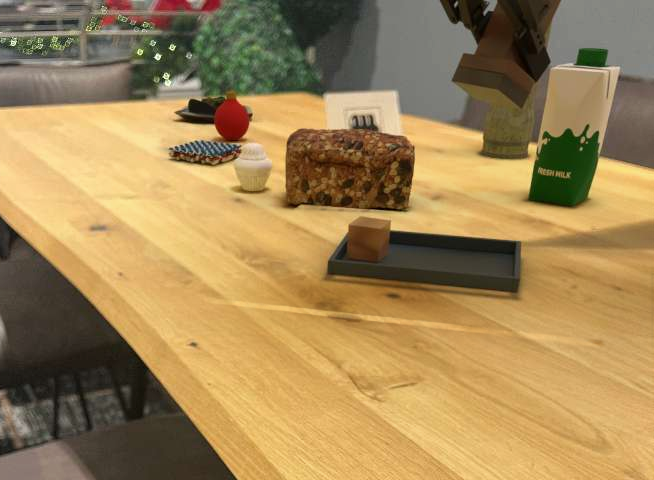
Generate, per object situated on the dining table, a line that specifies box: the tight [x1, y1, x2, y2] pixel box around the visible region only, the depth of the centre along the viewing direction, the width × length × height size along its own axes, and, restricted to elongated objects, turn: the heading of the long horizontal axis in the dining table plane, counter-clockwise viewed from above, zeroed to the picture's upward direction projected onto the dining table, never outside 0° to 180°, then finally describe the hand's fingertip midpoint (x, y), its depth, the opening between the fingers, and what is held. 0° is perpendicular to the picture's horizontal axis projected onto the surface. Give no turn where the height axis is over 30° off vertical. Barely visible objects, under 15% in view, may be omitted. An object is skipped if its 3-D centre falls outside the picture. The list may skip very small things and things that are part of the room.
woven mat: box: [168, 139, 243, 166], centre depth 140 cm, size 10×11×2 cm
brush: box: [451, 0, 562, 109], centre depth 82 cm, size 7×5×13 cm
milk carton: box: [527, 47, 621, 207], centre depth 113 cm, size 9×9×20 cm
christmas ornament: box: [213, 84, 250, 141], centre depth 153 cm, size 7×7×10 cm
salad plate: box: [173, 95, 254, 125], centre depth 177 cm, size 19×18×5 cm
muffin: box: [233, 141, 273, 192], centre depth 120 cm, size 6×6×7 cm
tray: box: [326, 229, 522, 294], centre depth 91 cm, size 21×14×2 cm
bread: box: [284, 127, 416, 210], centre depth 113 cm, size 19×11×10 cm, turn 84°
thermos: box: [480, 20, 553, 160], centre depth 136 cm, size 9×12×35 cm
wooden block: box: [347, 216, 392, 263], centre depth 92 cm, size 4×4×4 cm
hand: (521, 69), depth 86 cm, fingers closed on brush, 4 cm apart
